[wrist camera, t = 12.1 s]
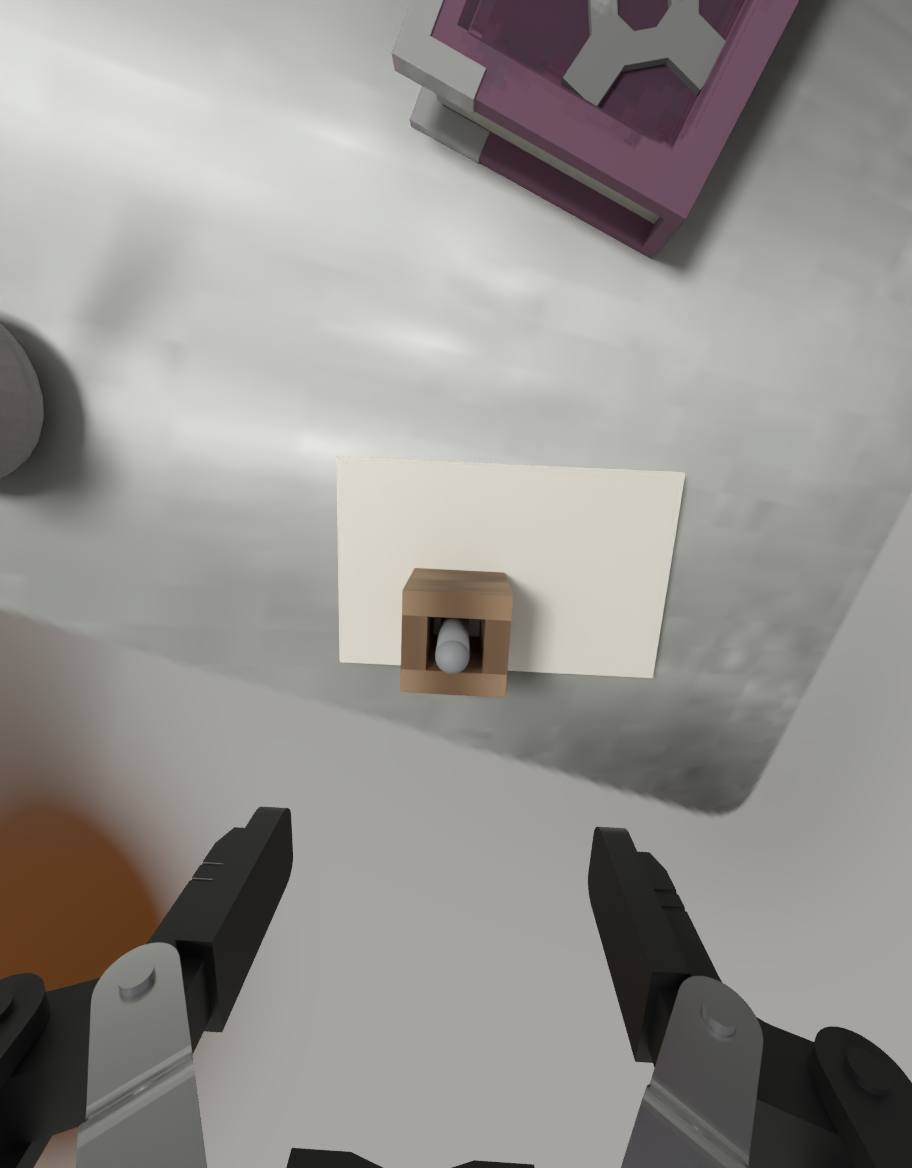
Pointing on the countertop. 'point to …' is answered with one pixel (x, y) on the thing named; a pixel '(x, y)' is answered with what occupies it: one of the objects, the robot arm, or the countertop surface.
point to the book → (591, 96)
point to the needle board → (510, 558)
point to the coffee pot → (17, 405)
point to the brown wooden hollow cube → (456, 599)
